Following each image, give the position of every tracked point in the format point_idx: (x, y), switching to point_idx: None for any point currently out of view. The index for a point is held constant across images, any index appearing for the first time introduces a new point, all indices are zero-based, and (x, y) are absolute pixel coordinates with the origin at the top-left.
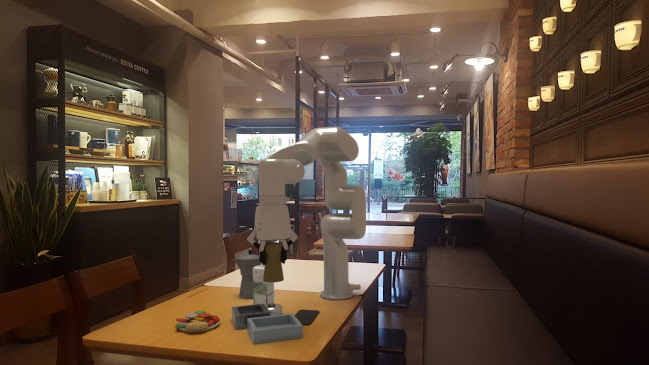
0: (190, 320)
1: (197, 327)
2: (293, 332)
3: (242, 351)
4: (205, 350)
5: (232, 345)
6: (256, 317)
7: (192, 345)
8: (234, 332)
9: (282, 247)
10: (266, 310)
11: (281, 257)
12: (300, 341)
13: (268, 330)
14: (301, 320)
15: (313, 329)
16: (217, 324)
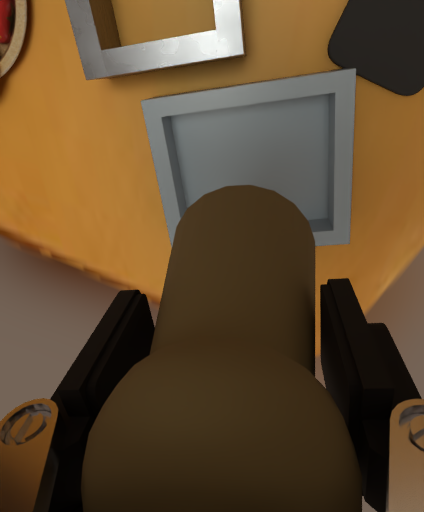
0: None
1: None
2: None
3: (154, 278)
4: (56, 247)
5: (122, 231)
6: (180, 97)
7: (8, 203)
8: (109, 112)
9: (371, 483)
10: (228, 8)
11: (329, 352)
12: (323, 252)
13: None
14: (398, 34)
15: (408, 151)
16: (24, 30)
